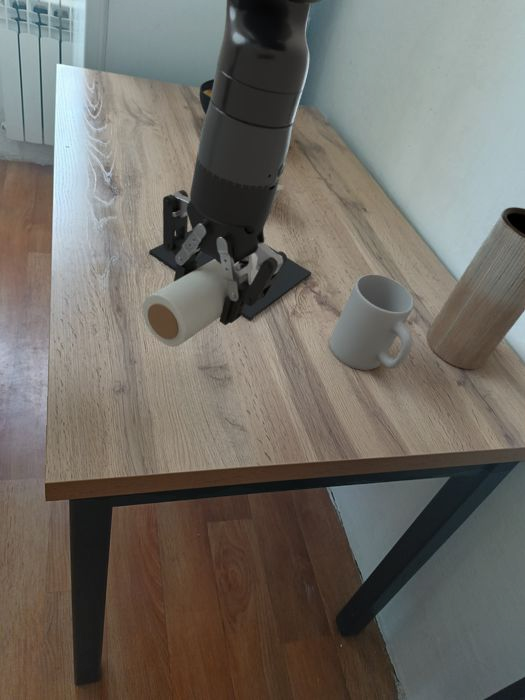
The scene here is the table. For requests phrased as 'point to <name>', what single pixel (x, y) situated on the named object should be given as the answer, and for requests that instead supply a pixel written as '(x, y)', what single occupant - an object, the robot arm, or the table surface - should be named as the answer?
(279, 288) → the mat
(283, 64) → the robot arm
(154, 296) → the towel roll
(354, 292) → the mug
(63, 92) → the table surface
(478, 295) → the planter
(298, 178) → the table surface
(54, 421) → the table surface
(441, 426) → the table surface
